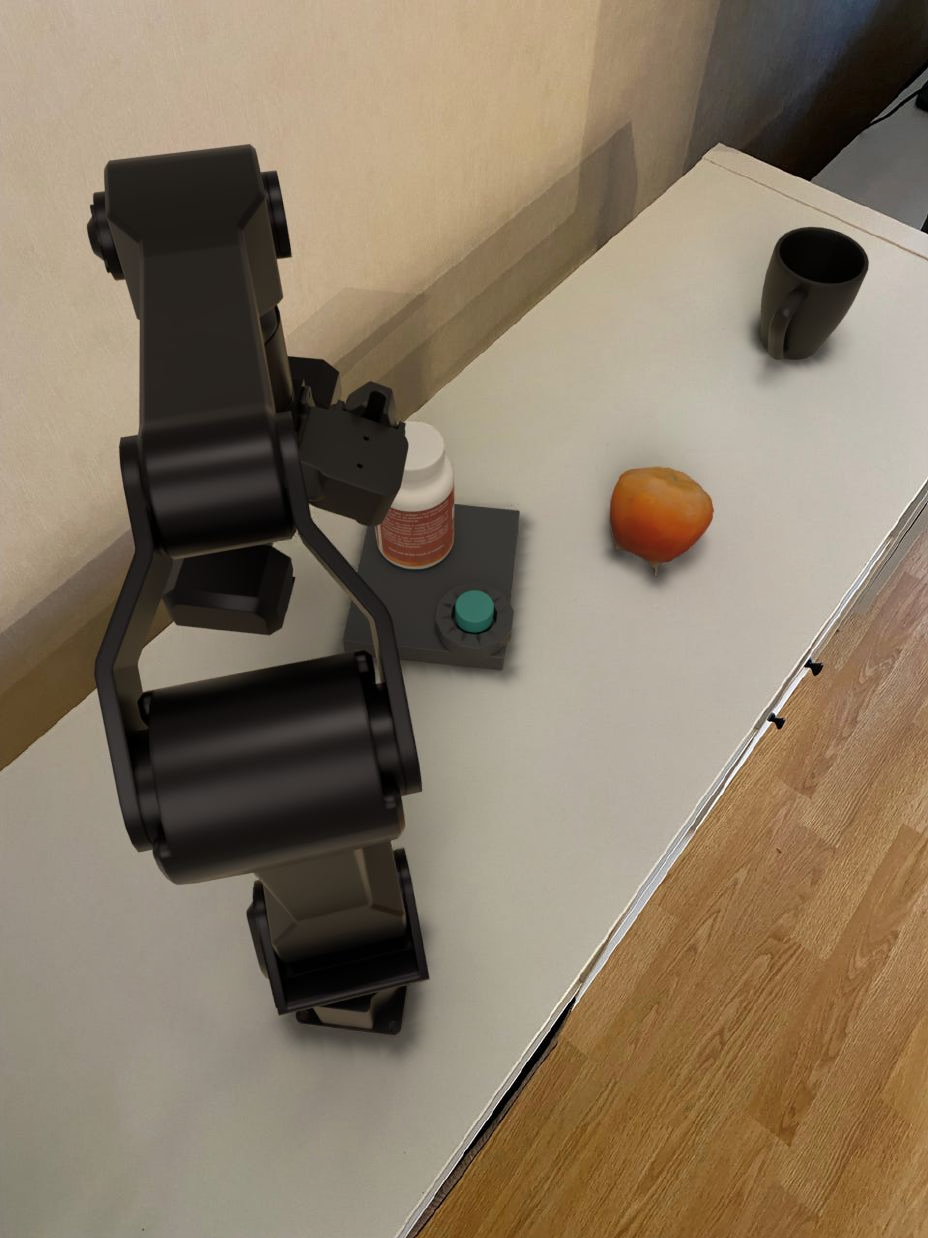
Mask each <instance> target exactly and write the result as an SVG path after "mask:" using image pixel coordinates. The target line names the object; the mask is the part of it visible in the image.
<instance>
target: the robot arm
mask: <svg viewBox="0 0 928 1238" xmlns="http://www.w3.org/2000/svg"><path fill="white" fill-rule="evenodd" d="M103 183H104V184H103V185H104V187H103V188H104V190H102V191H94V193H92V204H89V210H90V214H91V217H90V218H89V220H88V222H87V223H86V232H87V233H86V234H87V237H88V241H89V244H90V247H91V251H92V253H93V254H94V255H95V256H96V257H98V259H100V260H101V261H103V263H104V267H105V270H106V272H107V274H110V275H111V277H112V278H113V280H114V281H116V282H117V281H119V282H120V281H125V284H126V287H127V291H128V295H129V297H130V301H131V304H132V307H133V310H134V314H135V317H136V319H137V320H138V321H139V349H138V350H139V353H138V355H139V356H138V357H139V358H138V359H139V363H138V365H139V366H138V369H139V370H138V371H139V372H138V373H139V374H138V375H139V377H138V378H139V379H138V382H139V384H138V385H139V386H138V387H139V388H138V389H139V391H138V394H139V395H138V399H139V400H138V419H139V420H138V430H137V431H138V432H137V434H134V435H127V436H120V438H119V443H118V456H119V457H118V459H119V469H120V474H121V480H122V487H123V492H124V493H123V494H124V497H125V498H124V499H125V502H126V508H127V513H128V518H129V523H130V529H131V534H132V539H133V543H134V553H133V556H132V559H131V561H130V564H129V567H128V570H127V572H126V575H125V578H124V581H123V584H122V586H121V588H120V592H119V594H118V596H117V600H116V602H115V605H114V608H113V611H112V613H111V616H110V618H109V622H108V624H107V627H106V630H105V633H104V635H103V637H102V641H101V644H100V647H99V649H98V652H97V655H96V657H95V660H94V672H93V676H94V680H95V686H96V692H97V696H98V702H99V707H100V712H101V717H102V723H103V726H104V732H105V736H106V742H107V747H108V753H109V757H110V763H111V768H112V773H113V778H114V784H115V789H116V794H117V799H118V803H119V808H120V812H121V816H122V820H123V824H124V828H125V830H126V833H127V835H128V838H129V841H130V843H131V845H132V846H133V847H134V849H135V850H136V851H137V853H144V852H149V851H152V856H153V859H154V861H155V863H156V865H157V868H158V869H159V871H160V873H161V874H162V875H163V876H164V878H166V880H168V881H169V882H171V883H172V884H174V885H177V886H182V885H183V886H185V885H195V884H201V883H205V882H206V883H207V882H210V881H218V880H222V879H228V878H233V877H239V876H243V875H247V874H249V875H250V874H254V875H255V877H256V878H257V879H256V880H254V881H253V887H252V901H251V903H250V904H249V906H248V908H247V909H246V911H245V913H246V920H247V924H248V928H249V931H250V936H251V939H252V944H253V948H254V951H255V956H256V959H257V963H258V966H259V969H260V971H261V973H262V975H263V976H264V978H265V979H267V980H268V982H269V987H270V990H271V994H272V998H273V1003H274V1007H275V1009H276V1010H277V1014H278V1016H279V1017H280V1016H284V1015H289V1014H293V1013H295V1019H296V1021H297V1023H299V1025H303V1026H308V1027H317V1028H324V1029H325V1028H326V1029H333V1030H338V1031H339V1030H342V1031H346V1032H347V1031H348V1032H356V1033H362V1034H363V1033H364V1034H371V1035H377V1036H386V1037H387V1036H388V1037H397V1036H398V1035H399V1034H400V1033H401V1032H402V1028H403V1023H404V1022H403V1021H404V1016H405V1015H404V1014H405V1007H406V1002H407V1001H406V1000H407V995H408V994H407V993H408V985H413V984H417V983H421V982H424V981H429V980H430V979H431V978H430V973H429V968H428V961H427V957H426V951H425V947H424V946H425V945H424V941H423V934H422V928H421V923H420V918H419V913H418V908H417V902H416V896H415V891H414V886H413V881H412V875H411V870H410V866H409V861H408V857H407V856H408V855H407V853H406V849H405V847H400V848H395V849H394V848H393V844H392V841H395V840H398V839H399V838H400V837H401V835H402V834H403V832H404V830H405V829H406V818H405V810H404V805H403V804H404V803H403V798H402V797H405V796H409V795H410V796H411V795H415V794H419V793H423V781H422V773H421V767H420V761H419V760H420V759H419V754H418V748H417V742H416V738H415V733H414V728H413V727H414V726H413V721H412V717H411V711H410V706H409V701H408V695H407V690H406V684H405V680H404V679H405V678H404V675H403V668H402V664H401V659H400V658H399V653H398V647H397V642H396V637H395V632H394V626H393V621H392V617H391V615H390V613H389V611H388V609H387V607H386V605H385V604H384V603H383V602H382V601H381V600H380V598H379V597H378V596H377V595H376V594H375V593H374V591H373V590H372V589H371V588H370V587H369V586H368V584H367V583H366V582H365V581H364V580H363V579H362V578H361V576H360V575H359V574H358V573H357V572H358V571H357V570H356V569H355V568H354V566H352V564H350V562H349V560H347V559H346V558H345V556H344V555H343V554H342V553H341V552H340V551H339V550H338V548H337V547H336V546H335V545H334V544H333V542H332V541H331V540H330V539H329V538H328V537H327V535H325V533H324V532H323V531H322V530H321V528H319V526H318V525H317V524H316V523H315V521H314V519H313V517H312V513H311V508H310V506H312V507H313V508H317V509H320V510H322V511H325V512H329V513H332V514H334V515H338V516H341V517H345V518H347V519H350V520H353V521H355V522H357V523H358V524H359V525H362V526H365V527H367V526H377V525H379V524H381V523H382V522H383V520H384V518H385V517H386V515H387V513H388V511H389V509H390V507H391V505H392V503H393V501H394V499H395V497H396V496H397V494H398V492H399V490H400V488H401V484H402V478H403V473H404V468H405V463H406V458H407V453H408V447H409V444H408V440H407V438H406V436H405V433H406V431H405V426H406V423H404V422H405V421H401V420H399V422H397V419H396V418H397V412H398V409H397V405H396V400H395V395H394V391H393V389H392V388H391V387H388V386H385V385H383V384H380V383H377V382H375V381H373V380H370V381H367V382H366V383H364V384H363V385H360V386H359V387H358V388H357V389H355V390H353V391H352V392H350V393H349V394H348V395H347V397H346V400H341V399H342V396H343V390H342V382H341V373H340V371H339V370H338V369H336V368H335V367H334V366H333V365H331V364H330V363H329V362H328V361H326V360H325V359H323V358H313V357H304V356H292V355H288V351H287V345H286V344H287V343H286V339H285V333H284V327H283V323H282V317H281V312H280V311H281V310H280V308H279V304H280V302H282V301H283V299H284V292H283V285H282V280H281V276H280V270H279V264H278V260H283V259H289V258H290V259H291V258H293V253H292V246H291V240H290V239H291V238H290V234H289V227H288V222H287V215H286V210H285V204H284V198H283V194H282V189H281V185H280V184H281V183H280V179H279V175H278V171H277V170H267V171H261V167H260V163H259V156H258V152H257V149H256V148H255V147H254V146H253V145H252V144H251V143H248V144H239V145H230V146H220V147H213V148H205V149H204V148H203V149H196V150H195V149H194V150H187V151H186V150H185V151H179V152H170V153H161V154H153V155H144V156H143V155H142V156H135V157H128V158H120V159H111V160H108V162H107V163H106V164H105V166H104V168H103ZM397 423H398V424H397ZM296 534H298V537H299V538H300V540H301V542H302V544H303V546H304V547H305V548H306V549H307V550H308V551H309V553H310V554H311V555H312V556H313V557H314V558H315V559H316V560H317V561H318V563H319V564H320V565H321V566H322V567H323V569H324V570H325V571H326V572H327V573H328V574H329V575H330V576H331V578H332V579H333V581H335V582H336V584H337V585H338V586H339V587H340V588H341V589H342V590H343V592H344V593H345V594H346V595H347V596H348V598H349V599H350V600H352V601H353V602H354V603H355V604H356V605H357V607H358V608H359V609H360V610H361V611H362V612H363V614H364V615H365V616H366V617H367V618H368V620H369V622H370V627H371V633H372V638H373V643H374V648H375V654H376V656H375V660H376V663H377V669H378V675H379V680H380V682H377V677H376V676H377V675H376V669H375V664H374V658H373V656H372V655H371V654H370V653H368V652H367V651H365V650H364V649H362V650H357V651H352V652H347V653H345V652H343V653H337V654H332V655H326V656H321V657H316V658H311V659H305V660H301V661H295V662H290V663H284V664H279V665H275V666H270V667H265V668H259V669H254V670H253V669H252V670H248V671H243V672H239V673H238V672H237V673H233V674H228V675H222V676H217V677H212V678H207V679H201V680H196V681H191V682H186V683H181V684H175V685H169V686H166V687H160V688H154V689H150V690H145V691H143V685H142V679H141V674H140V670H139V661H140V658H141V656H142V653H143V650H144V647H145V644H146V642H147V639H148V636H149V633H150V631H151V628H152V625H153V622H154V620H155V618H156V617H155V616H156V614H157V611H158V608H159V607H160V606H159V605H160V603H161V600H162V603H163V605H164V608H165V609H166V611H167V614H168V616H169V617H170V619H171V620H172V621H173V623H174V624H175V625H176V626H177V627H188V628H196V629H206V630H216V631H225V632H232V633H233V632H234V633H243V634H253V635H259V636H261V635H262V636H269V637H270V636H271V635H273V634H274V633H277V632H278V631H280V630H281V629H283V627H284V622H285V619H286V614H287V613H288V610H289V605H290V602H291V598H292V593H293V590H294V585H295V582H296V576H294V566H293V562H292V557H290V556H289V555H287V554H286V553H284V552H282V551H281V550H279V549H278V548H276V547H274V543H278V542H283V541H289V540H292V539H293V538H294V536H295V535H296ZM303 1013H307V1017H306V1018H304V1019H303V1018H302V1017H301V1016H302V1014H303ZM393 1024H394V1025H395V1024H396V1026H397V1027H396V1029H395V1030H391V1028H390V1026H391V1025H393Z"/></svg>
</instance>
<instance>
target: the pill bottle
mask: <svg viewBox="0 0 928 1238" xmlns="http://www.w3.org/2000/svg"><path fill="white" fill-rule="evenodd" d="M403 422H404V423H406V426H405V431H406V433H405V436H406V438H407V440H408V444H409V447H408V453H407V458H406V463H405V468H404V473H403V478H402V484H401V488H400V490H399V492H398V494H397V496H396V497H395V499H394V501H393V503H392V505H391V507H390V509H389V511H388V513H387V515H386V517H385V518H384V520H383V522H382V523H381V524H379V525H377V526H375V532H376V540H377V545H378V548H379V550H380V552H381V553H382V555H383V556H384V557H385V558H386V559H387V560H388V561H390V562H391V563H393V564H395V565H397V566H400V567H403V568H407V569H424V568H428V567H431V566H433V565H435V564H437V563H439V562H440V561H442V560H443V559H444V558H445V557H446V556H447V555H448V553H449V552H450V550H451V548H452V545H453V542H454V504H455V483H456V482H455V481H456V477H455V468H454V464H453V462H452V460H451V459H450V456H448V455H447V453H446V450H445V449H446V448H445V447H446V446H445V440H444V438H443V436H442V434H441V433H440V431H439V430H438V429H436V428H435V427H434V426H432V425H430V424H429V423H426V422H423V421H417V420H407V421H403ZM398 423H399V422H397V424H398Z"/></svg>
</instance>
